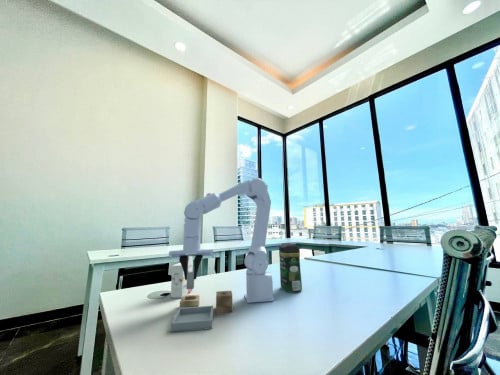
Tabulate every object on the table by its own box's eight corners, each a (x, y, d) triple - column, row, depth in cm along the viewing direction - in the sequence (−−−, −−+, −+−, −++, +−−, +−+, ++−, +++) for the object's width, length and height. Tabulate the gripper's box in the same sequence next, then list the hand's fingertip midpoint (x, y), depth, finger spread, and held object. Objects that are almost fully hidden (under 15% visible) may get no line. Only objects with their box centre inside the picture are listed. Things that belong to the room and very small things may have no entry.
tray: (213, 312, 64) (213, 305, 64) (212, 328, 54) (212, 320, 54) (178, 315, 62) (178, 308, 63) (171, 332, 52) (171, 323, 53)
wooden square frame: (199, 304, 71) (199, 294, 72) (197, 310, 66) (198, 300, 66) (182, 305, 70) (182, 295, 71) (179, 312, 65) (179, 301, 65)
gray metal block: (194, 287, 70) (194, 271, 71) (193, 288, 68) (193, 272, 69) (187, 287, 70) (187, 271, 71) (186, 289, 68) (187, 273, 69)
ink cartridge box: (181, 290, 86) (183, 254, 89) (192, 291, 85) (193, 254, 88) (169, 297, 78) (171, 257, 81) (181, 298, 77) (183, 257, 80)
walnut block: (231, 306, 69) (231, 290, 70) (232, 312, 64) (232, 295, 65) (216, 307, 68) (216, 291, 69) (215, 314, 63) (216, 296, 64)
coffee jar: (278, 286, 90) (276, 242, 93) (295, 285, 91) (293, 241, 94) (285, 293, 80) (283, 244, 84) (304, 292, 82) (301, 243, 85)
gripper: (213, 236, 77) (212, 274, 75) (172, 237, 75) (170, 277, 72) (213, 237, 70) (212, 279, 68) (168, 238, 68) (165, 282, 66)
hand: (190, 278), depth 70 cm, fingers closed on gray metal block, 2 cm apart
